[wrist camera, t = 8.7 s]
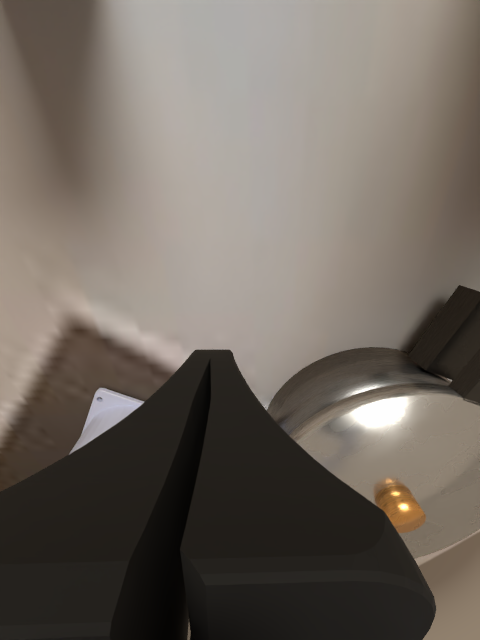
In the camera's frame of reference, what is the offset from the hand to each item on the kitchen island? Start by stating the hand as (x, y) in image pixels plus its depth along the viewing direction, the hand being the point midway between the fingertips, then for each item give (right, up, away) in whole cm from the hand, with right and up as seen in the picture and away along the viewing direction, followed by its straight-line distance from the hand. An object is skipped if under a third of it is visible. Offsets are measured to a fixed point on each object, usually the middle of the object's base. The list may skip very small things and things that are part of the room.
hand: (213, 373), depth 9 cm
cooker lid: (+13, -8, +9) cm, 18 cm away
